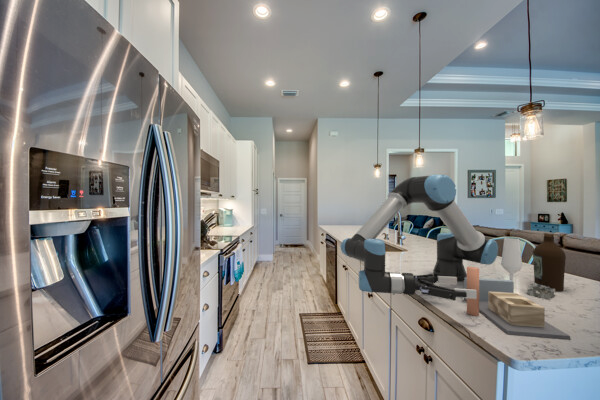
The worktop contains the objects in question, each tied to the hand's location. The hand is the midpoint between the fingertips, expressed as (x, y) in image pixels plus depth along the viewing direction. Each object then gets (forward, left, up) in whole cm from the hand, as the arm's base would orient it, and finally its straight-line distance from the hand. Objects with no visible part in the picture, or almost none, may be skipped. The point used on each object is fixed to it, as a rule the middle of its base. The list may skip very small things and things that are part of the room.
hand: (465, 287), depth 86 cm
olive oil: (+28, +56, -10) cm, 63 cm away
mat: (+12, +7, -9) cm, 16 cm away
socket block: (+13, +4, -8) cm, 16 cm away
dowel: (+2, +2, -9) cm, 10 cm away
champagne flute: (+14, +31, -10) cm, 35 cm away
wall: (+6, +17, -8) cm, 20 cm away
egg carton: (+24, +42, -10) cm, 49 cm away
